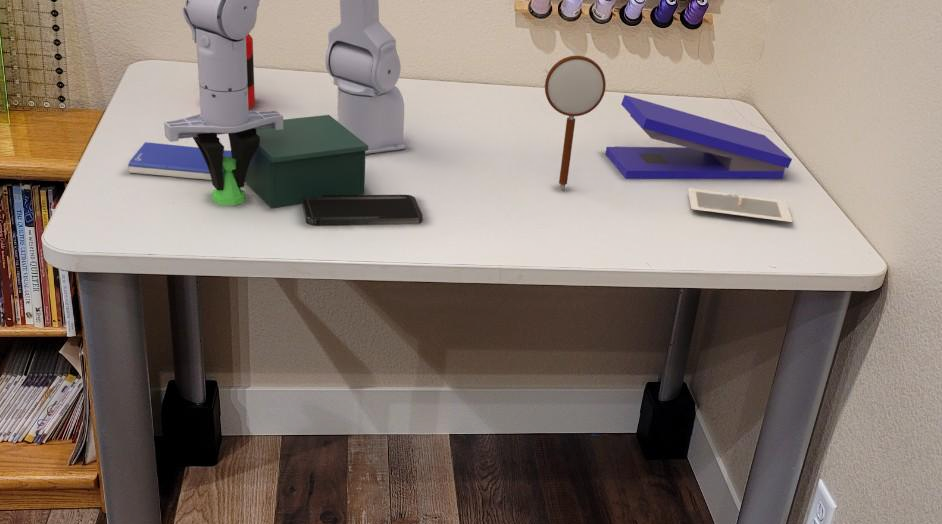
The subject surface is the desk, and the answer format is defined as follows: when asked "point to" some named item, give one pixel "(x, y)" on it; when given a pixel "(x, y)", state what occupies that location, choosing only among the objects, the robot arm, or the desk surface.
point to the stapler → (695, 148)
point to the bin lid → (308, 139)
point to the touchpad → (739, 205)
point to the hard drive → (171, 161)
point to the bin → (305, 177)
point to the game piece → (229, 185)
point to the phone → (361, 210)
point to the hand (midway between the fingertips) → (228, 186)
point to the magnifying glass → (573, 97)
